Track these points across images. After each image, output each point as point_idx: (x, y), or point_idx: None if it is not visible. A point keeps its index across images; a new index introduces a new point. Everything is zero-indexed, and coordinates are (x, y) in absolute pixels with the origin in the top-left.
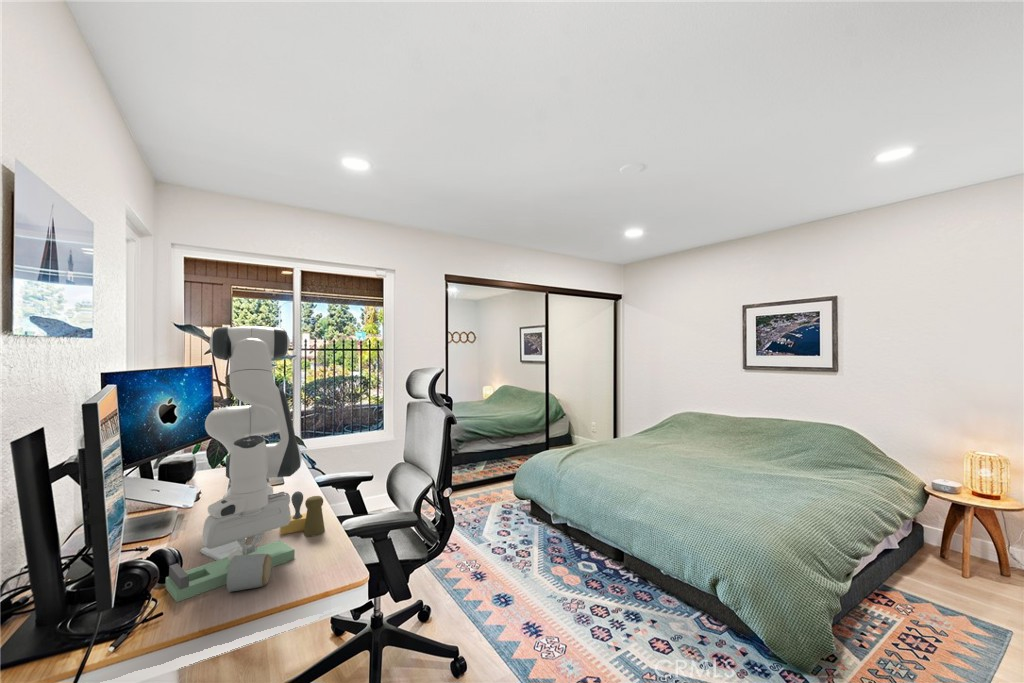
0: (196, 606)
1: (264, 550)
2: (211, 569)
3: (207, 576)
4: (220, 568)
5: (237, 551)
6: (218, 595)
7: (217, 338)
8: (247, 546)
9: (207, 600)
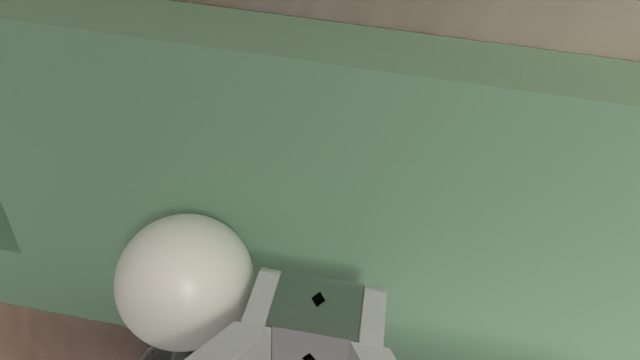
0: (10, 327)
1: (508, 246)
2: (22, 186)
3: (2, 265)
4: (88, 231)
5: (175, 351)
6: (100, 328)
7: None
8: (289, 353)
9: (53, 325)
